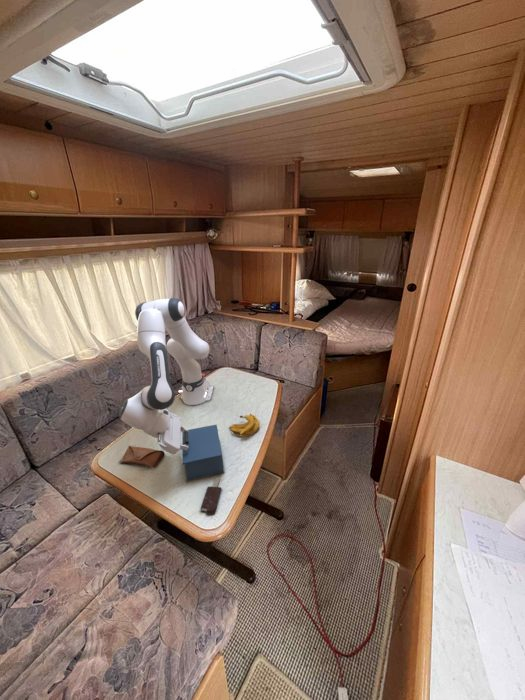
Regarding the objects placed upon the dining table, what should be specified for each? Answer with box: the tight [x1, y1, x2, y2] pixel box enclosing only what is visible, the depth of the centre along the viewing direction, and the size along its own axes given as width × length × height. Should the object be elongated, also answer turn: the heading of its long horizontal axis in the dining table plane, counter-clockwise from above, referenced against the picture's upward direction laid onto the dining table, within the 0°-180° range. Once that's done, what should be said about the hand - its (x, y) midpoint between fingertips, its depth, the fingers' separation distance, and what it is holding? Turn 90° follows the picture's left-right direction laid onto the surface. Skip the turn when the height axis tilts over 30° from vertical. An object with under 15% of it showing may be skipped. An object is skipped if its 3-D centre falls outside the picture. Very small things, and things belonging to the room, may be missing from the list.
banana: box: [229, 413, 261, 437], centre depth 139 cm, size 15×19×6 cm
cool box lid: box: [181, 424, 223, 466], centre depth 117 cm, size 16×20×5 cm
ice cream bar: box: [200, 476, 222, 515], centre depth 104 cm, size 5×2×15 cm
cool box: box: [184, 455, 225, 482], centre depth 120 cm, size 15×20×9 cm
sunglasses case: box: [119, 445, 165, 469], centre depth 122 cm, size 18×7×7 cm, turn 79°
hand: (187, 440), depth 115 cm, fingers open, 8 cm apart
